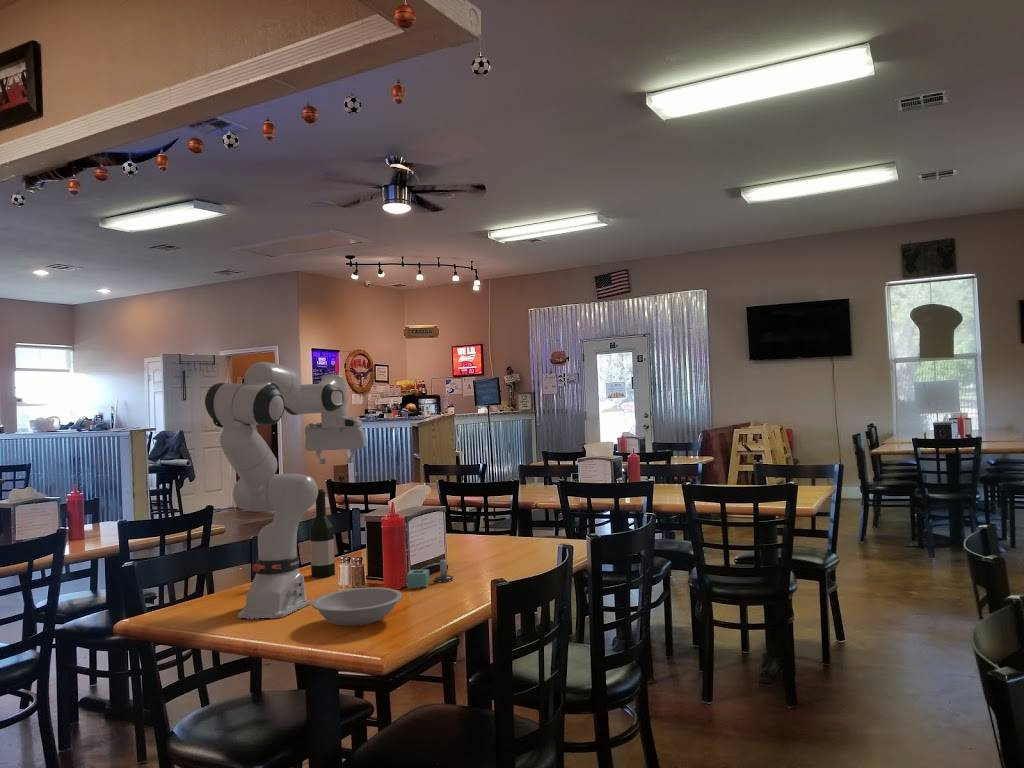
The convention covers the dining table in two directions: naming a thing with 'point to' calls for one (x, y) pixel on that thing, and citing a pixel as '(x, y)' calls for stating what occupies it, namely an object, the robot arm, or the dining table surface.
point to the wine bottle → (322, 541)
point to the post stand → (443, 572)
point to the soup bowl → (357, 605)
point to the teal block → (418, 578)
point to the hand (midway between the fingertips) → (336, 463)
